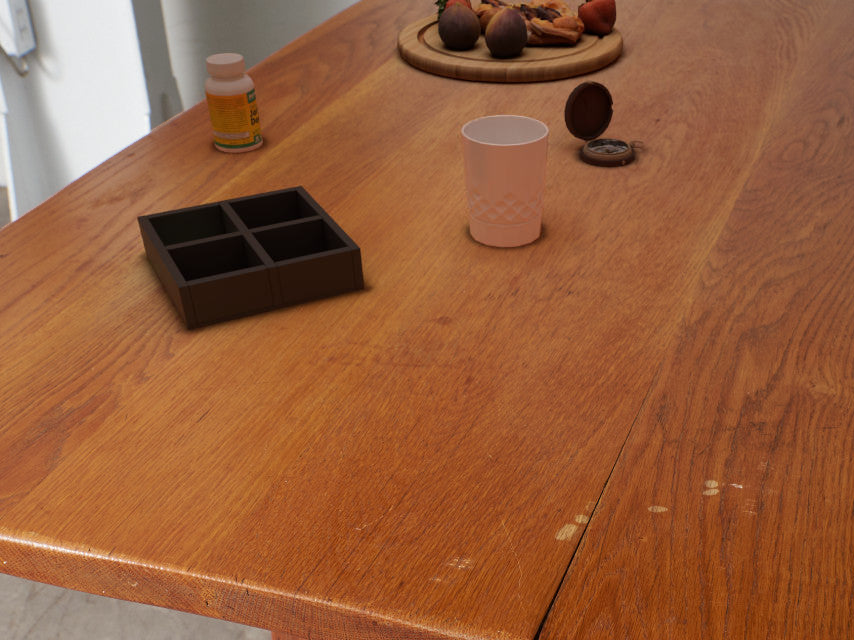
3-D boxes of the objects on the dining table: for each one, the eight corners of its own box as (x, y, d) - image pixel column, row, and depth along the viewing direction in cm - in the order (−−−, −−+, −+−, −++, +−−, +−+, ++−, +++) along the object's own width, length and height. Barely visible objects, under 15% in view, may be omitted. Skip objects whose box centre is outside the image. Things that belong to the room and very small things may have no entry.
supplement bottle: (216, 140, 117) (200, 52, 111) (263, 137, 118) (250, 49, 111) (214, 156, 113) (197, 66, 107) (263, 153, 113) (249, 63, 107)
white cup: (517, 211, 101) (518, 109, 95) (562, 239, 96) (566, 133, 90) (449, 229, 98) (445, 124, 92) (492, 259, 93) (490, 151, 86)
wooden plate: (628, 26, 155) (633, -34, 149) (614, 91, 130) (619, 23, 125) (424, 18, 158) (421, -41, 153) (373, 80, 134) (368, 13, 129)
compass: (600, 173, 109) (604, 104, 104) (560, 150, 114) (562, 83, 109) (659, 159, 112) (666, 91, 107) (618, 137, 117) (622, 72, 113)
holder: (188, 333, 82) (178, 287, 80) (147, 259, 93) (136, 216, 90) (365, 291, 88) (360, 247, 85) (307, 226, 98) (301, 185, 96)
